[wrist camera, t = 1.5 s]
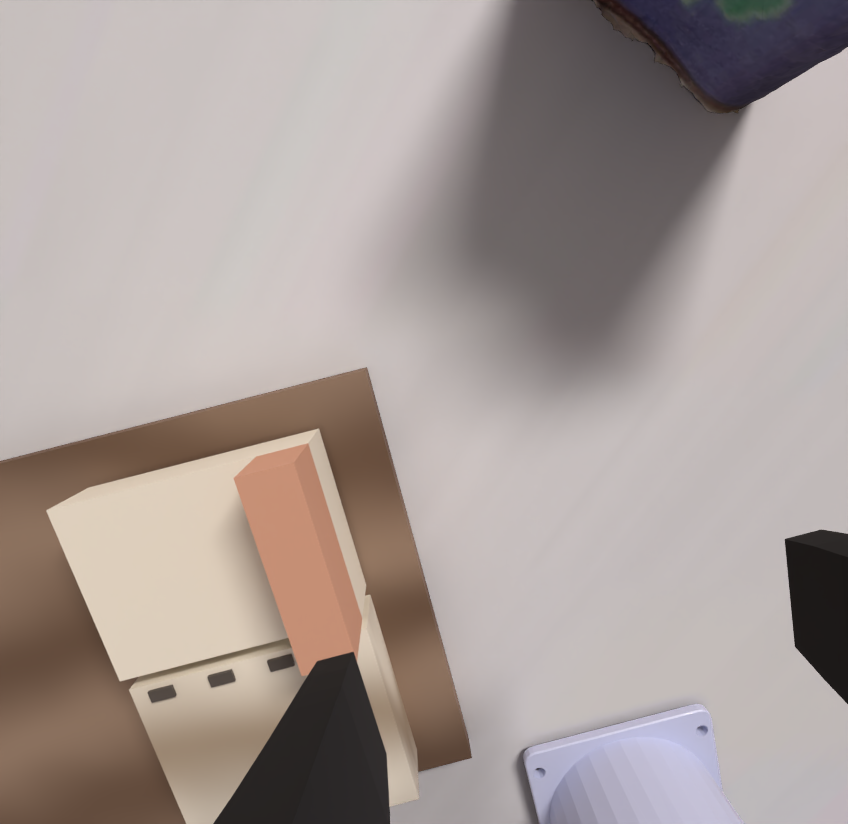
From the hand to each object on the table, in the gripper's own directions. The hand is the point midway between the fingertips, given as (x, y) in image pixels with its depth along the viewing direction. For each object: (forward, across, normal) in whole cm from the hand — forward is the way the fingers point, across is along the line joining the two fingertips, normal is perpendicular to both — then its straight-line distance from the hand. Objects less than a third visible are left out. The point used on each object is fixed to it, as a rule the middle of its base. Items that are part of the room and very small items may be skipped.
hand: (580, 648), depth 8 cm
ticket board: (+10, +13, +4) cm, 17 cm away
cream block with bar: (+9, +9, 0) cm, 13 cm away
